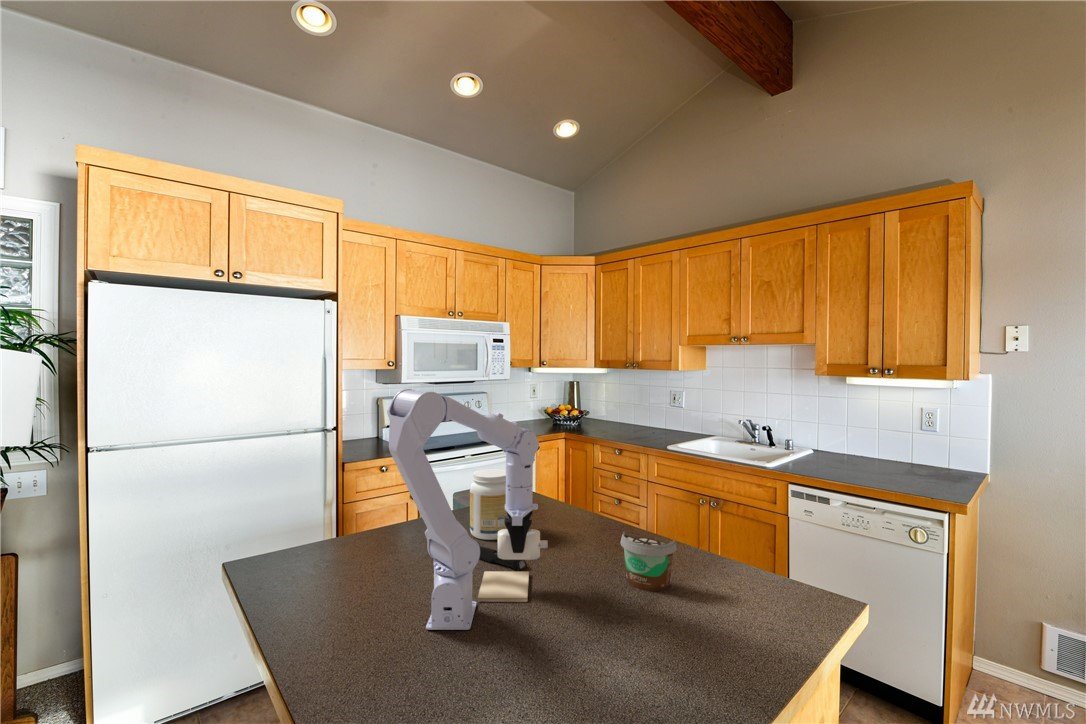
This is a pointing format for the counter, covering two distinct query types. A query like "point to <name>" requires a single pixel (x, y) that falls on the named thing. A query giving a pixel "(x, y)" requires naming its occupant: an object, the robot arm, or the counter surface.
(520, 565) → the electric trimmer
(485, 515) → the supplement tub
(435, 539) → the robot arm
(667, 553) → the food container
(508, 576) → the cutting board
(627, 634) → the counter surface
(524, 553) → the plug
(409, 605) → the counter surface
